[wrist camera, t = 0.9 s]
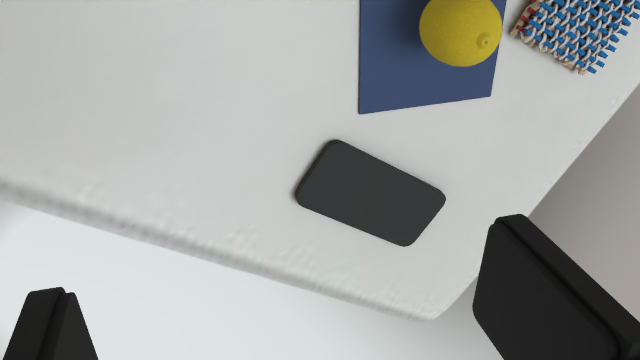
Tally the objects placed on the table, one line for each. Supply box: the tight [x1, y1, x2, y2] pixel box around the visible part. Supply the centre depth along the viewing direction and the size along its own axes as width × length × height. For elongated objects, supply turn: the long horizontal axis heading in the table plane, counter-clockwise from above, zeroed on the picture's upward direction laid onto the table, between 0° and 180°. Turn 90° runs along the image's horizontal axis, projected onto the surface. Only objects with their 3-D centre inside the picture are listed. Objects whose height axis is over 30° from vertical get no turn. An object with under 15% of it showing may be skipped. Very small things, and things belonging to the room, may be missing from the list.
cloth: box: [359, 0, 506, 114], centre depth 40 cm, size 18×13×1 cm
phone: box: [295, 140, 446, 247], centre depth 48 cm, size 7×1×15 cm
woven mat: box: [510, 0, 640, 75], centre depth 42 cm, size 10×11×2 cm
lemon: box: [419, 0, 502, 67], centre depth 37 cm, size 6×6×8 cm
